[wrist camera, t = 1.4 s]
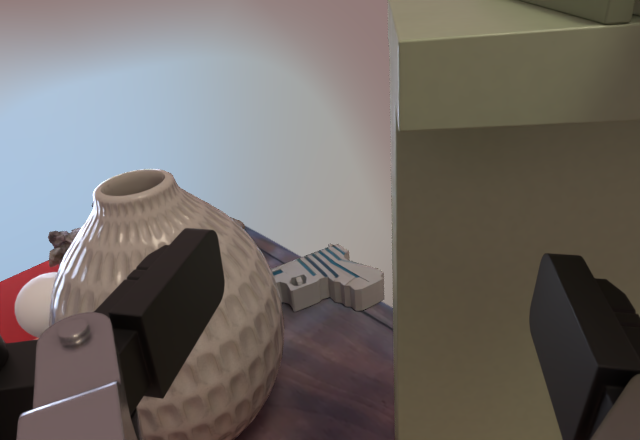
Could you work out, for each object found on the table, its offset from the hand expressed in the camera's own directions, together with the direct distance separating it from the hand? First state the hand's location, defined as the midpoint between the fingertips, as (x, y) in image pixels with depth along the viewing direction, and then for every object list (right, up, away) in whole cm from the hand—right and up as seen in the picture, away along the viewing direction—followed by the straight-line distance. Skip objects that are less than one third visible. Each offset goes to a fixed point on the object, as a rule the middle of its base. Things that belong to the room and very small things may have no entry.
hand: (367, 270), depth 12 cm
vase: (-11, -16, +29) cm, 35 cm away
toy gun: (0, -8, +37) cm, 38 cm away
